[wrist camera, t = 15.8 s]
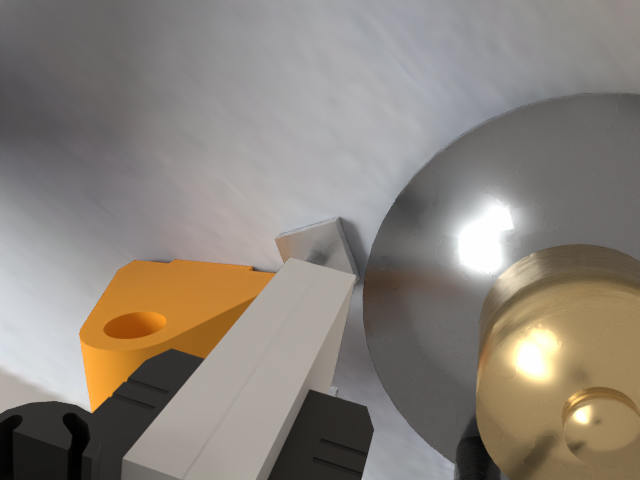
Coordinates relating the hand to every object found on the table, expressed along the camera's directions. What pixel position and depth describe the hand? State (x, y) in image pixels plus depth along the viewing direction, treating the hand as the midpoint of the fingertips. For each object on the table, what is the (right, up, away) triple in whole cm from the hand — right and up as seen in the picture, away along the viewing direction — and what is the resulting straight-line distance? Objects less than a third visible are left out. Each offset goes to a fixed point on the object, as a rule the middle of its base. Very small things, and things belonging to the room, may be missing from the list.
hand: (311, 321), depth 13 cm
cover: (+14, -3, +19) cm, 24 cm away
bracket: (-7, -3, +27) cm, 28 cm away
